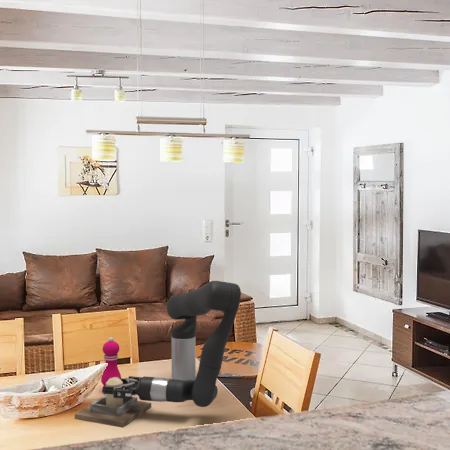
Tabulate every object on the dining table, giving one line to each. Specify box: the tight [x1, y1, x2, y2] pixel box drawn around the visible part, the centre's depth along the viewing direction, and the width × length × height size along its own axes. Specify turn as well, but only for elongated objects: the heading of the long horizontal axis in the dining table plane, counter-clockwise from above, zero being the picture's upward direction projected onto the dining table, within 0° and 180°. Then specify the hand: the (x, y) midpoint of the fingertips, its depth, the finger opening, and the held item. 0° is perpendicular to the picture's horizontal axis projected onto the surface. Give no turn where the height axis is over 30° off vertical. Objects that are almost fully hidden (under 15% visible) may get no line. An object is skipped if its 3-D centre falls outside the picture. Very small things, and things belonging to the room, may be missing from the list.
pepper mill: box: [100, 336, 122, 388], centre depth 213 cm, size 7×7×20 cm
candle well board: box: [74, 394, 152, 428], centre depth 193 cm, size 18×18×4 cm
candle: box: [105, 377, 123, 408], centre depth 193 cm, size 6×6×10 cm
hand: (108, 385), depth 193 cm, fingers open, 8 cm apart
